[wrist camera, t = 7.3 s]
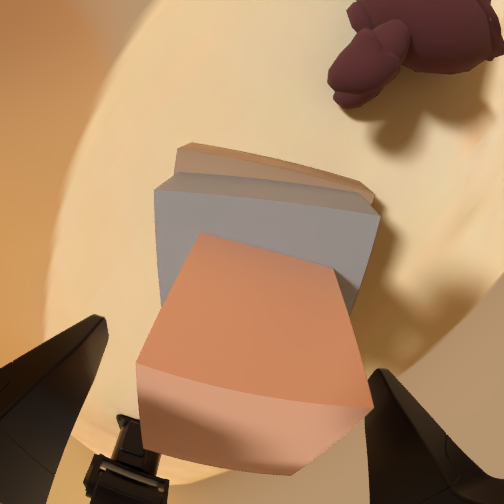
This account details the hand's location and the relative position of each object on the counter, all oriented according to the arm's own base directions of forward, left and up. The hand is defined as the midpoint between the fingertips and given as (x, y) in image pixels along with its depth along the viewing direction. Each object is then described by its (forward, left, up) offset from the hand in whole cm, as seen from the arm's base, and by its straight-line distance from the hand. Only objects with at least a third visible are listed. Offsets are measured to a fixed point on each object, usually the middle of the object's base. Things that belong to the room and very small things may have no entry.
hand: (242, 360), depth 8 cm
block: (0, 0, -3) cm, 3 cm away
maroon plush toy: (+15, -5, -9) cm, 18 cm away
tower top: (0, 0, -6) cm, 6 cm away
